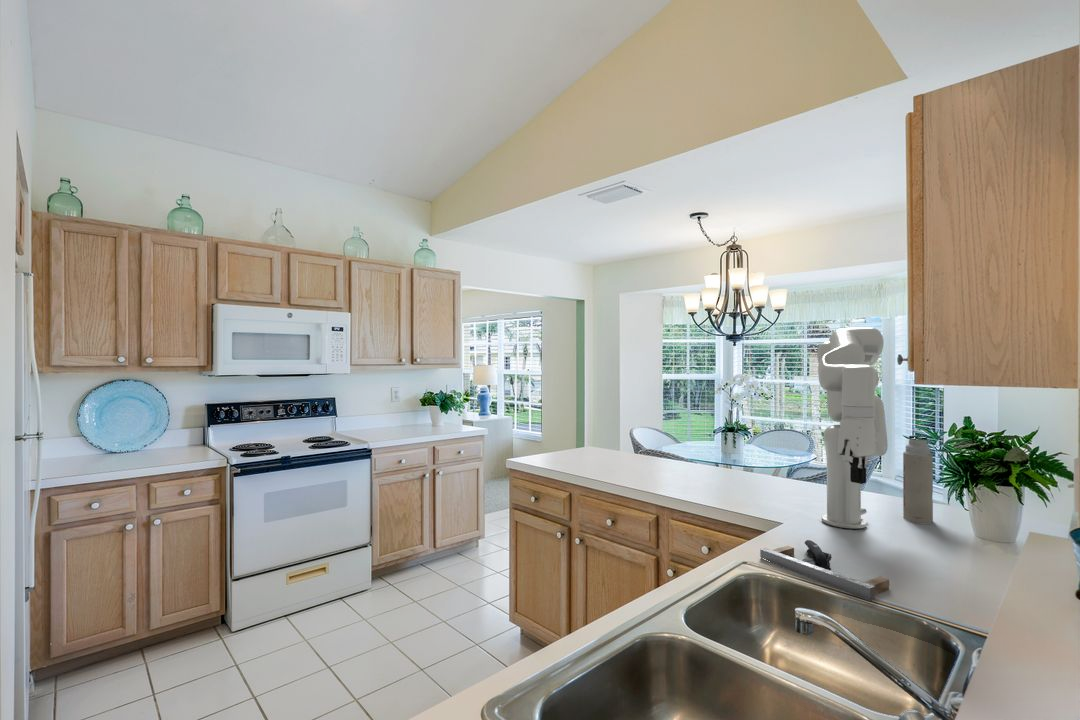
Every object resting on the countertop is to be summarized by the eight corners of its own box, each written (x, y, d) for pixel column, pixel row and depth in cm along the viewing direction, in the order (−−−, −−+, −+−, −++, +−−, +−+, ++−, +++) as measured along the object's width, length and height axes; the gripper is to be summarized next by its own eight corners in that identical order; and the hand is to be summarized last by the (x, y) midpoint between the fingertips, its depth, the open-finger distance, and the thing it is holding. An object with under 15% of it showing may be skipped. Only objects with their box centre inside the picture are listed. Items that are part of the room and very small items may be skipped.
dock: (784, 553, 146) (784, 542, 146) (893, 591, 122) (893, 578, 122) (760, 560, 141) (760, 549, 141) (869, 601, 117) (869, 588, 117)
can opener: (835, 578, 130) (835, 555, 130) (803, 574, 132) (803, 552, 132) (823, 554, 147) (823, 533, 147) (795, 550, 149) (795, 530, 149)
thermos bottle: (899, 520, 176) (899, 435, 176) (907, 515, 181) (907, 433, 181) (928, 525, 170) (928, 438, 170) (936, 521, 175) (935, 436, 175)
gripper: (859, 410, 147) (859, 476, 147) (827, 413, 139) (827, 483, 139) (888, 412, 140) (888, 482, 140) (856, 415, 133) (856, 489, 133)
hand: (858, 482), depth 140 cm, fingers closed
